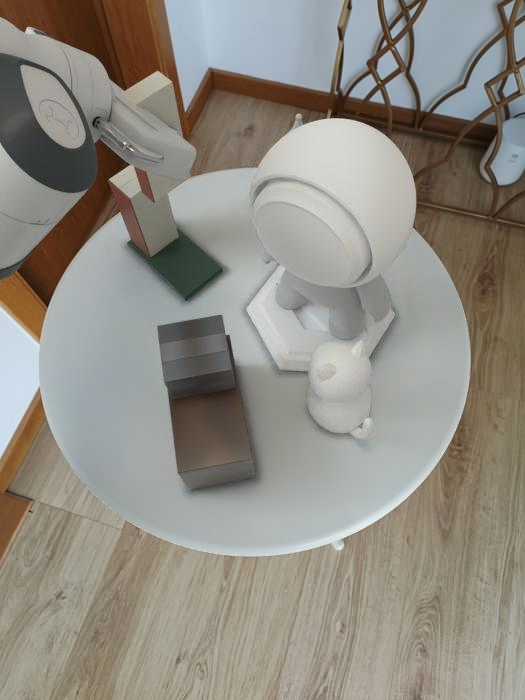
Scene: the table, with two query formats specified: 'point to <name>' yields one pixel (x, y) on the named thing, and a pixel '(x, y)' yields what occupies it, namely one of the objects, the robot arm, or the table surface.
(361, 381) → the cat figurine
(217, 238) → the table surface
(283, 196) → the white toy figurine
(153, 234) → the green book holder
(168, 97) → the white book
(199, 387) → the grey stand
